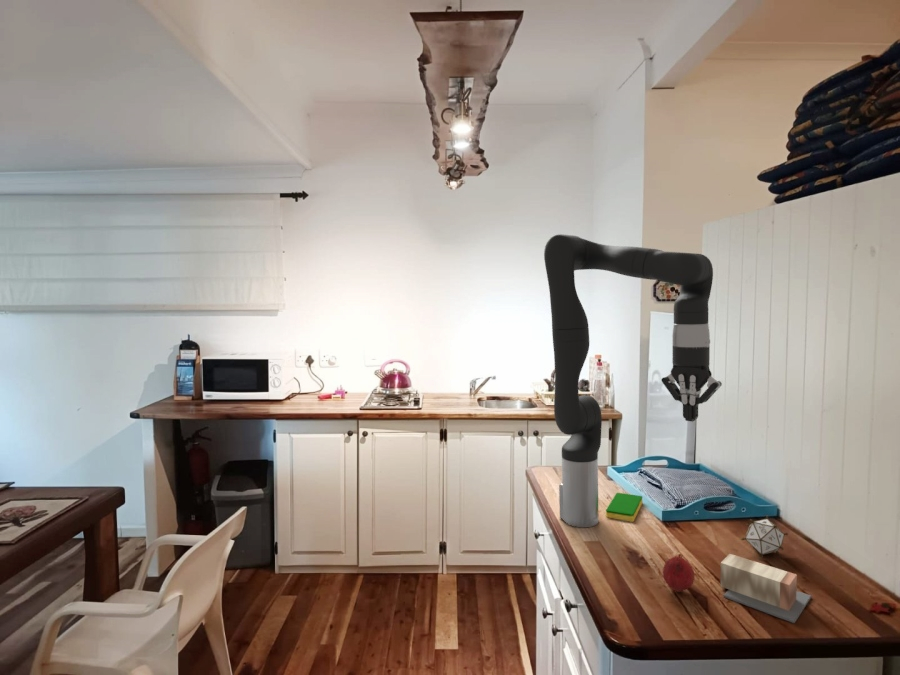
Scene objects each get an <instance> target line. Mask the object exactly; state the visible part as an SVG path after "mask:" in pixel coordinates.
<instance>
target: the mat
mask: <svg viewBox="0 0 900 675" xmlns="http://www.w3.org/2000/svg"><path fill="white" fill-rule="evenodd" d="M723 598H725V599H728V600H731V601H733V602H736V603H739V604H741V605H745V606H747V607H749V608H752V609H755V610H757V611H760V612H762V613H765V614H768V615H771V616H773V617H776V618H779V619H781V620H784V621H786V622H789V623H792V624H795V623H796V622H797V620H798V619H799V617H800V616H801V614H802V613H803V611H804V610H805V608H806V606H807V605H808V603H809V601H810V600H811V599H812V595H811V594H807V593H804V592H802V591H798V590H797V592H796V601H795V602H794V604H793V605H792V607H791V608H790V610H789V611H788V610H785V609H782V608H779V607H777V606H774V605H771V604H768V603H765V602H763V601H760V600H757V599H754V598H751V597H749V596H746V595H743V594H740V593H737V592H735V591H732V590H729V589H727V591H726V592H725V593H724V594H723Z"/></svg>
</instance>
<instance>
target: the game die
mask: <svg viewBox="0 0 900 675" xmlns="http://www.w3.org/2000/svg"><path fill="white" fill-rule="evenodd" d="M749 521H750V522H751V523H750V524H749V523H746V527H748V528H747V531H746V534H745V537H741V539H740V540H742V541H746V542H747V543H748V544H750V546H752V548H754V549H755V550H756V551H757V553H759V554H760V556H759V557H760V559H763V558H764V555H768V554H771V553H776V554H777V555H779V554H780V552H779V550H781V551H785V548H784V547H782V545H783V541H784V539H785V536H788V535H789V533H788V532H785V533H784V531H782V530H781V529H779V528H778V525H777V524H774V523H773V522H772V521H771V520H770V519H769V515H766V516H765V518H764V519H759V520H754V519H751V518H750V519H749Z"/></svg>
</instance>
